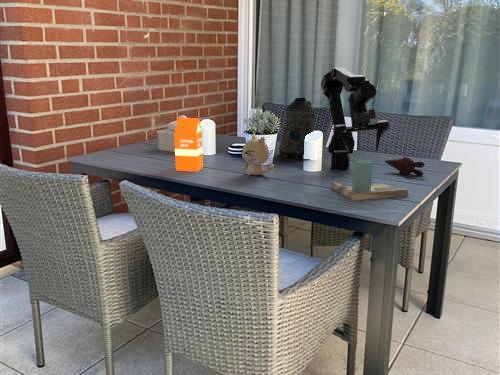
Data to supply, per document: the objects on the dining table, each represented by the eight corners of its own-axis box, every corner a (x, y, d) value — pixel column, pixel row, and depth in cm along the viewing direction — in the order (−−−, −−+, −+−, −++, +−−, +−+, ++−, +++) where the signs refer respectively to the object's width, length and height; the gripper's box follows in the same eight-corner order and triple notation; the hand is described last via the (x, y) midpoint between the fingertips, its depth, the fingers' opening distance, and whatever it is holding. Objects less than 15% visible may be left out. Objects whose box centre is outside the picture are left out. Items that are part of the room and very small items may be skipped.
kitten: (235, 170, 193) (235, 132, 189) (259, 168, 196) (260, 131, 192) (249, 180, 179) (249, 139, 175) (275, 177, 183) (275, 137, 179)
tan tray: (331, 189, 169) (332, 181, 168) (382, 184, 174) (383, 177, 173) (352, 201, 155) (353, 194, 154) (407, 196, 160) (408, 189, 159)
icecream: (381, 157, 188) (421, 165, 180) (389, 149, 193) (428, 157, 185) (380, 173, 191) (419, 182, 184) (387, 165, 196) (426, 173, 189)
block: (351, 188, 168) (353, 159, 165) (366, 188, 168) (368, 159, 165) (355, 192, 163) (357, 162, 160) (370, 192, 163) (372, 162, 160)
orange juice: (197, 171, 192) (195, 119, 186) (175, 170, 193) (173, 118, 188) (203, 167, 199) (202, 116, 193) (182, 165, 201) (180, 116, 195)
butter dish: (210, 147, 237) (210, 114, 233) (186, 154, 222) (185, 118, 218) (182, 144, 246) (181, 111, 242) (157, 150, 231) (155, 115, 227)
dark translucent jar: (277, 159, 213) (278, 100, 206) (280, 150, 231) (281, 95, 224) (316, 160, 211) (318, 100, 204) (316, 151, 229) (318, 96, 222)
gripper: (333, 104, 168) (338, 148, 165) (389, 98, 167) (395, 143, 164) (331, 114, 179) (335, 156, 176) (383, 109, 178) (389, 151, 175)
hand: (363, 152), depth 172 cm, fingers open, 9 cm apart
